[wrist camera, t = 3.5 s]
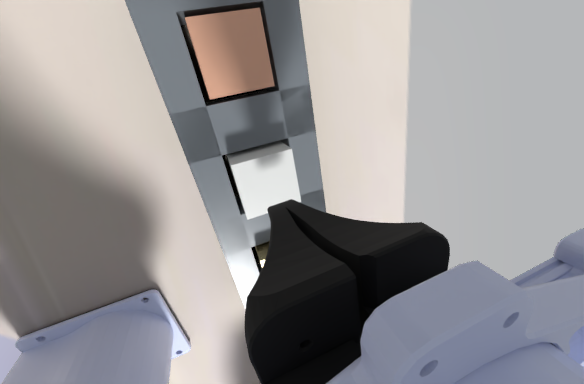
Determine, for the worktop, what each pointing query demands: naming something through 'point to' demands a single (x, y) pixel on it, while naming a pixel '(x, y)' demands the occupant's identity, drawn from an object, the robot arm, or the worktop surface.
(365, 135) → the worktop surface
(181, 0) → the keypad
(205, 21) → the terracotta key
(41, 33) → the worktop surface
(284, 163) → the grey key
